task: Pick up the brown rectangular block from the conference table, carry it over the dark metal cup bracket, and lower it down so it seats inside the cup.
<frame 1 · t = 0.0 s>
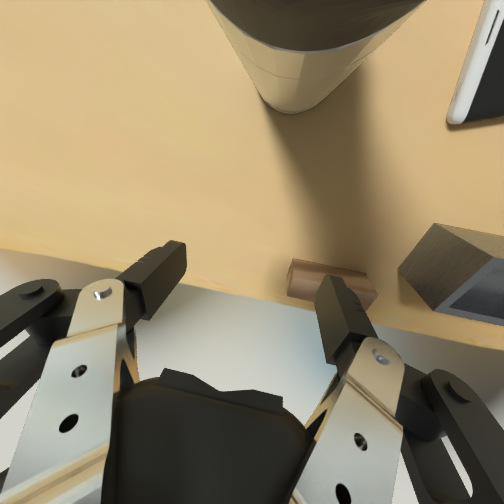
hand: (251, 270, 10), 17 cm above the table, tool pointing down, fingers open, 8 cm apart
brown rectangular block: (324, 274, 31), on the table
cup bracket: (471, 259, 25), on the table
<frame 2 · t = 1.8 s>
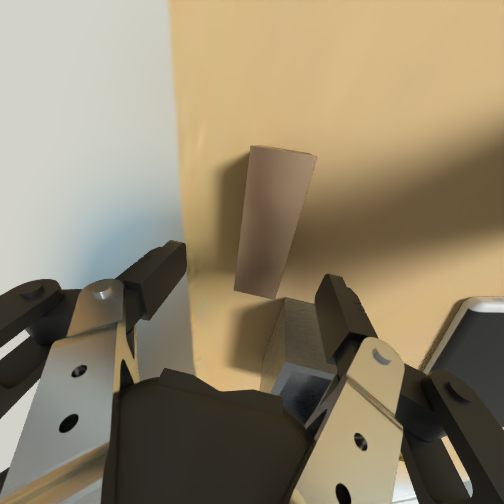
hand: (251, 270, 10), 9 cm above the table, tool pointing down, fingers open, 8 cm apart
smartphone: (479, 365, 24), on the table
brown rectangular block: (270, 217, 18), on the table
cup bracket: (298, 341, 27), on the table
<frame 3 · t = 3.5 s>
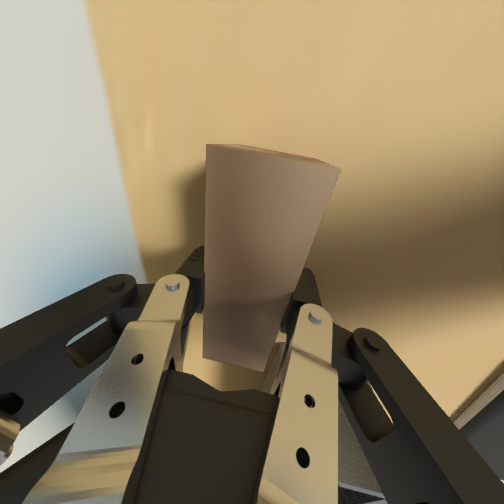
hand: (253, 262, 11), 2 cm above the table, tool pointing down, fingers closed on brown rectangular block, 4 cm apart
brown rectangular block: (257, 247, 13), on the table, touching gripper
cup bracket: (297, 387, 22), on the table
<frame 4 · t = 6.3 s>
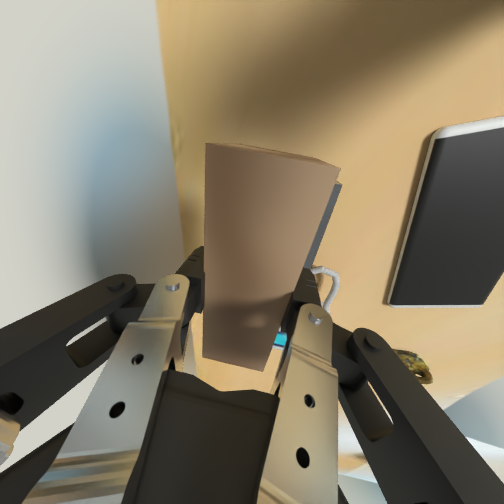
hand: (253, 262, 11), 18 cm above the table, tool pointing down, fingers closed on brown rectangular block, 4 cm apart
intercom: (292, 304, 37), on the table
smartphone: (454, 232, 25), on the table
brown rectangular block: (257, 247, 13), point 16 cm above the table, touching gripper
seal: (386, 358, 41), on the table
cup bracket: (282, 223, 28), on the table
when the fingers open (8 cm above the table, at t = 9.1 s): brown rectangular block drops 1 cm, resting on cup bracket.
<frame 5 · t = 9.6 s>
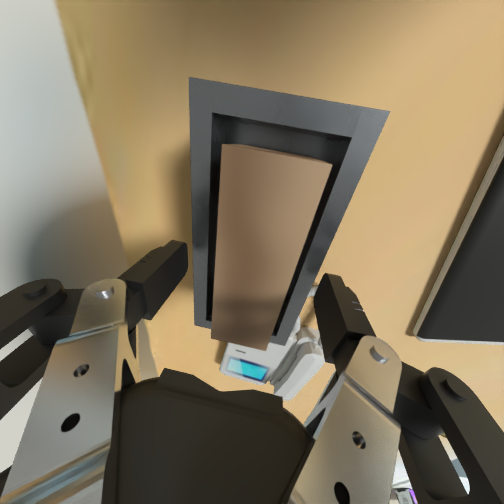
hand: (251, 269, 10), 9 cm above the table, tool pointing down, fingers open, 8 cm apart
intercom: (276, 328, 27), on the table
candy box: (418, 493, 58), on the table
brown rectangular block: (260, 239, 14), point 5 cm above the table, touching cup bracket
cup bracket: (264, 216, 18), on the table
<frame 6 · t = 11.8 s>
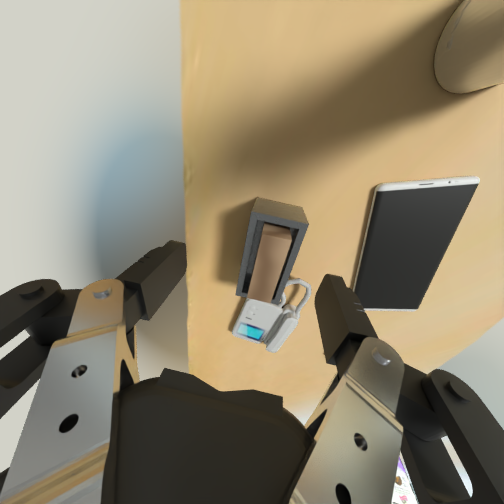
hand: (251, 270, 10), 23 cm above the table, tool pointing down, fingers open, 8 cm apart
intercom: (271, 305, 45), on the table
candy box: (377, 441, 77), on the table
smartphone: (395, 254, 34), on the table
brown rectangular block: (268, 255, 31), point 5 cm above the table, touching cup bracket
cup bracket: (268, 242, 35), on the table
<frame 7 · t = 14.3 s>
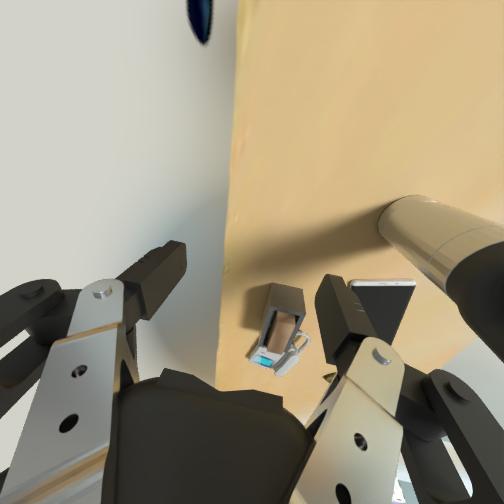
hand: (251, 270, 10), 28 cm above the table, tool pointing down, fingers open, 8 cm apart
intercom: (279, 343, 60), on the table
candy box: (371, 444, 91), on the table
smartphone: (369, 316, 49), on the table
brown rectangular block: (280, 321, 46), point 5 cm above the table, touching cup bracket
seal: (345, 377, 65), on the table
cup bracket: (279, 306, 51), on the table
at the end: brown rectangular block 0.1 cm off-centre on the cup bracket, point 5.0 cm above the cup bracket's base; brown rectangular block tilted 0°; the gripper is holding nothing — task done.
